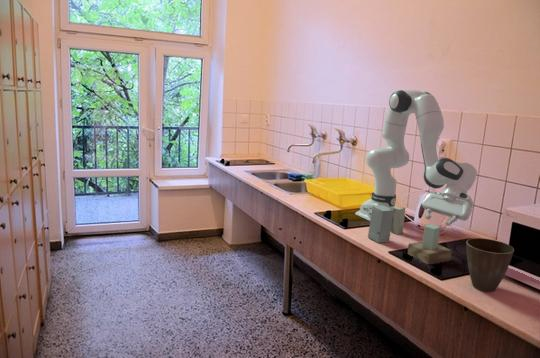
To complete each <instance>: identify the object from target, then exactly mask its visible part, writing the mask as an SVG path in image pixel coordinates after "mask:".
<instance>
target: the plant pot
mask: <svg viewBox="0 0 540 358" xmlns="http://www.w3.org/2000/svg"><path fill="white" fill-rule="evenodd" d="M465 243H466V260H467V266H468V273H469V277H470V280H471V284H472V286H473V288H474V289H476V290H479V291H481V292H487V293H490V292H491V293H492V292H495V291H496V290H497V288H498V287H499V285H500V283H501V282H502V281H503V279H504V277H505V275H506V273H507V272H508V271H507V270H508V268H509V266H510V263H511V261H512V258H513V255H514V252H515V248H514V247H513V246H511V245H510V244H507V243H506V242H503V241H499V240H496V239H495V240H494V239H490V238H482V237H478V238H477V237H476V238H475V237H474V238H469V239H467V240H466V242H465Z"/></svg>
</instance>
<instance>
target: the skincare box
mask: <svg viewBox="0 0 540 358" xmlns="http://www.w3.org/2000/svg"><path fill="white" fill-rule="evenodd" d="M393 213H394V210H392V209H390V208H388V207H385V206H383V205H379V206H372V213H371V219H370V221H369V226H368V233H367V237H368V238H369V239H370V240H372V241H374V242H376V243H377V244H382V243H389V242H390V239H391V238H390V237H391V233H392V232H391V225H392V219H393Z"/></svg>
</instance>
